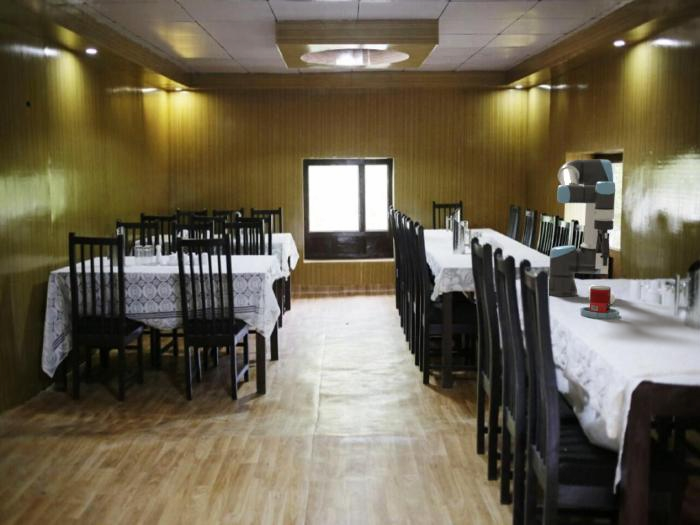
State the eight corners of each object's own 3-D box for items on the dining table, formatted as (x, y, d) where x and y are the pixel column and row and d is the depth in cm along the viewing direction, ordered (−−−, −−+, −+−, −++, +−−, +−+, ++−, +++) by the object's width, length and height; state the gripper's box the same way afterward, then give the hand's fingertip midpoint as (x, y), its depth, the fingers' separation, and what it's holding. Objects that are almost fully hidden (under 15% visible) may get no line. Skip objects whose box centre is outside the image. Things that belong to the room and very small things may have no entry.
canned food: (611, 315, 315) (612, 288, 314) (590, 314, 316) (591, 288, 315) (608, 311, 322) (609, 285, 321) (588, 311, 324) (589, 285, 323)
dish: (578, 311, 328) (578, 306, 328) (615, 312, 325) (615, 307, 325) (583, 318, 313) (583, 312, 313) (621, 319, 311) (621, 314, 310)
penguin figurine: (588, 283, 349) (615, 286, 347) (585, 301, 350) (612, 305, 348) (590, 285, 342) (618, 288, 341) (587, 304, 344) (615, 307, 342)
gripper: (590, 217, 327) (587, 266, 330) (599, 222, 303) (596, 275, 306) (608, 217, 326) (606, 266, 329) (619, 222, 302) (616, 276, 305)
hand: (601, 271), depth 317 cm, fingers open, 13 cm apart
